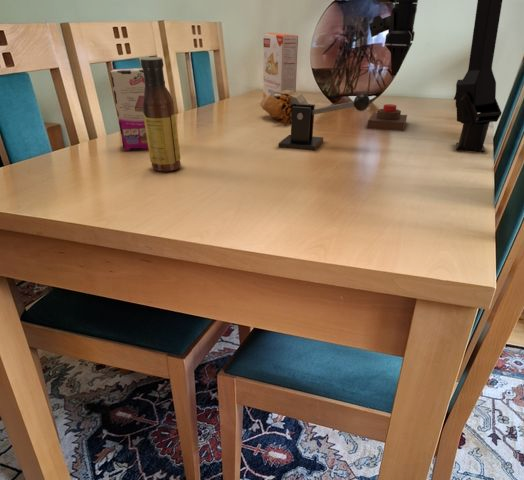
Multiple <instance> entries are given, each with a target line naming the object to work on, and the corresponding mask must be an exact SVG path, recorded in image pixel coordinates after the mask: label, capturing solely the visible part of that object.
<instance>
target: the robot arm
mask: <svg viewBox="0 0 524 480" xmlns="http://www.w3.org/2000/svg"><path fill="white" fill-rule="evenodd" d="M375 1H376V2H377V3H379V4H394V5H393V8H392V9H391V11H390V15H388V16H385V17H382V16H381V15H380V14H379V15H375V16H374V17H373V18H372V22H371V23H368V26H369V31H370V37H371V38H374V37H377V36H378V35H380V34H381V33H385V32H387V31H388V33H386V34H385V41H384V44H385V47H386V48H387V50H388V52H390V71H391V72H390V73H391V76H392V77H395V76H397V73H399V71H400V69H401V67H402V65H403V64H404V62H405V59H406V57H407V56H408V53H409V51H410V49H411V47H412V45H413V41H414V39H415V34H416V32H415V31H414V26H415V20H416V14H417V10H418V3H419V0H375ZM502 5H503V0H477V3H476V9H475V10H476V11H475V16H474V17H475V18H474V25H473V32H472V37H471V38H472V39H471V47H470V53H469V61H468V68H467V71H466V73H465V75H464V77H463V78H462V79H457V81H456V83H455V95H454V98H453V100H454V101H455V109H456V122H458V123H460V124H462V128H461V131H460V136H459V140H458V142H456V143H455V151H458V152H469V153H470V152H471V153H482V154H484V153H486V148H485V146H484V144H485V141H486V137H487V135H488V130H489V127H490V123H493V122H494V123H497V122H498V120H499V119H500V117H501V115H502V110H501V107H500V106H499V103H498V100H497V98H496V97H497V96H496V95H497V81H496V78H495V75H494V71H493V62H494V56H495V49H496V44H497V37H498V33H499V32H498V30H499V25H500V17H501V12H502Z"/></svg>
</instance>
